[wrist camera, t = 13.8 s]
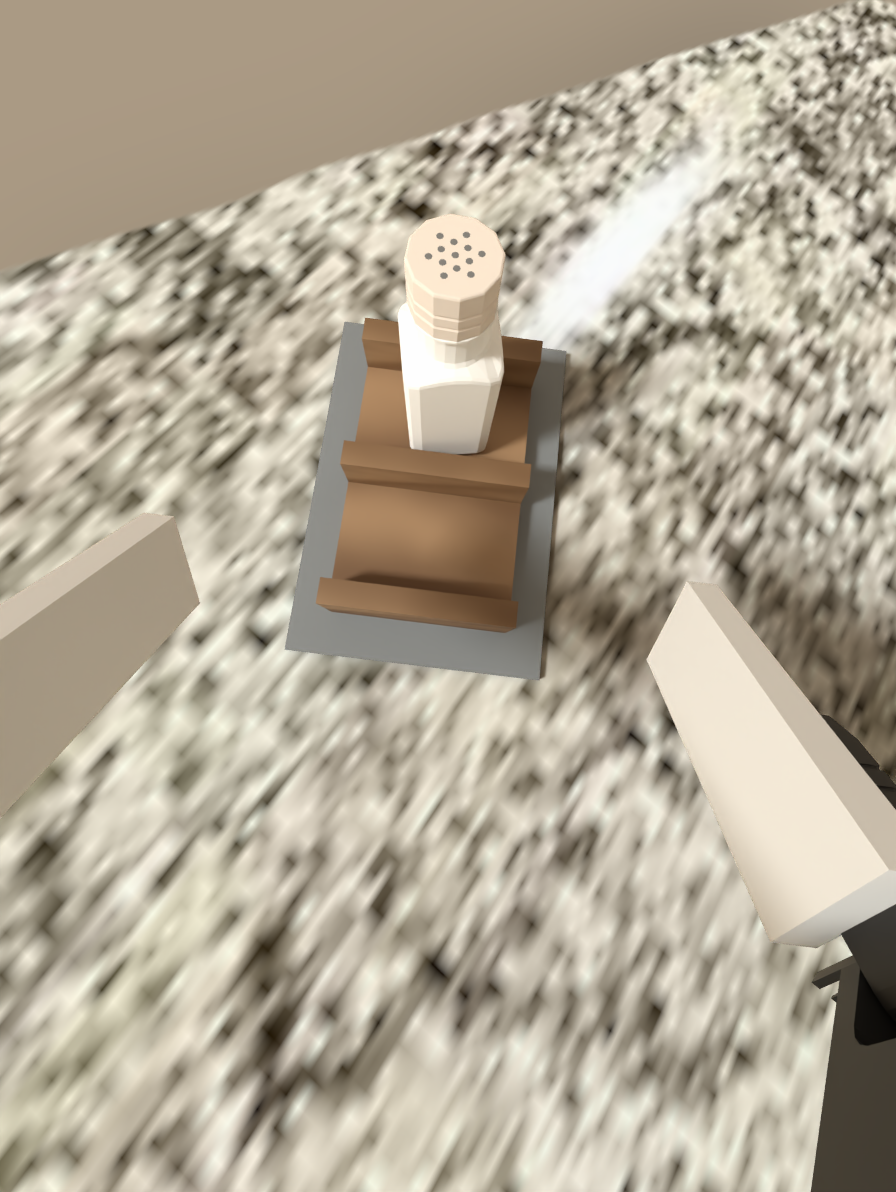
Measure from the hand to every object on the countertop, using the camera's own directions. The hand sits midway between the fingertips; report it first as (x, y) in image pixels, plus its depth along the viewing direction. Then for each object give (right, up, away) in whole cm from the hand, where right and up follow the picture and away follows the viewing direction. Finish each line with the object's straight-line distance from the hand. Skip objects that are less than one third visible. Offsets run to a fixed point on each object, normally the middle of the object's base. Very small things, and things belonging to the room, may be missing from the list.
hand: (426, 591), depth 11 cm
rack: (0, +6, +12) cm, 13 cm away
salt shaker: (0, +9, +12) cm, 15 cm away
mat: (0, +6, +12) cm, 13 cm away
